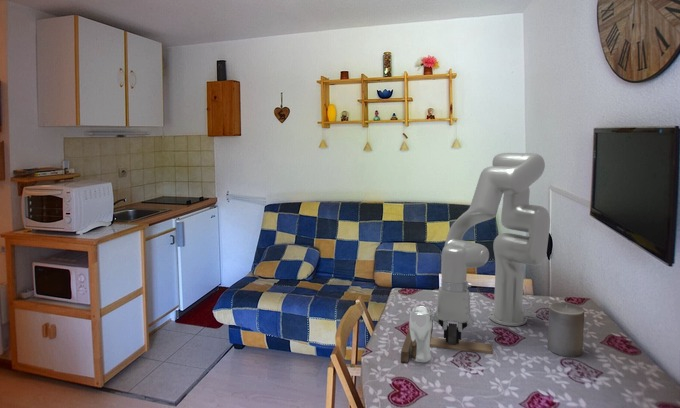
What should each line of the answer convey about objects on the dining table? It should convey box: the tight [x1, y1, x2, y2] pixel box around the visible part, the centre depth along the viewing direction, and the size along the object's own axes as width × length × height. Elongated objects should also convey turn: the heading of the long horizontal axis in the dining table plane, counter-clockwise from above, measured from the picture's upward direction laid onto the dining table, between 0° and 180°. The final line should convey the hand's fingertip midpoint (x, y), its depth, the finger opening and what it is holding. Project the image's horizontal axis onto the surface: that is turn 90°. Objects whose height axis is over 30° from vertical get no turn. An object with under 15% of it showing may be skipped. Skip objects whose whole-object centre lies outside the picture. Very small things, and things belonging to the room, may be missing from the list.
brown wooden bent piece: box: [400, 323, 493, 363], centre depth 132 cm, size 26×18×7 cm
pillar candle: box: [547, 301, 585, 358], centre depth 134 cm, size 10×10×15 cm
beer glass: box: [408, 305, 434, 363], centre depth 130 cm, size 7×7×15 cm
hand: (452, 340), depth 138 cm, fingers closed on brown wooden bent piece, 2 cm apart
